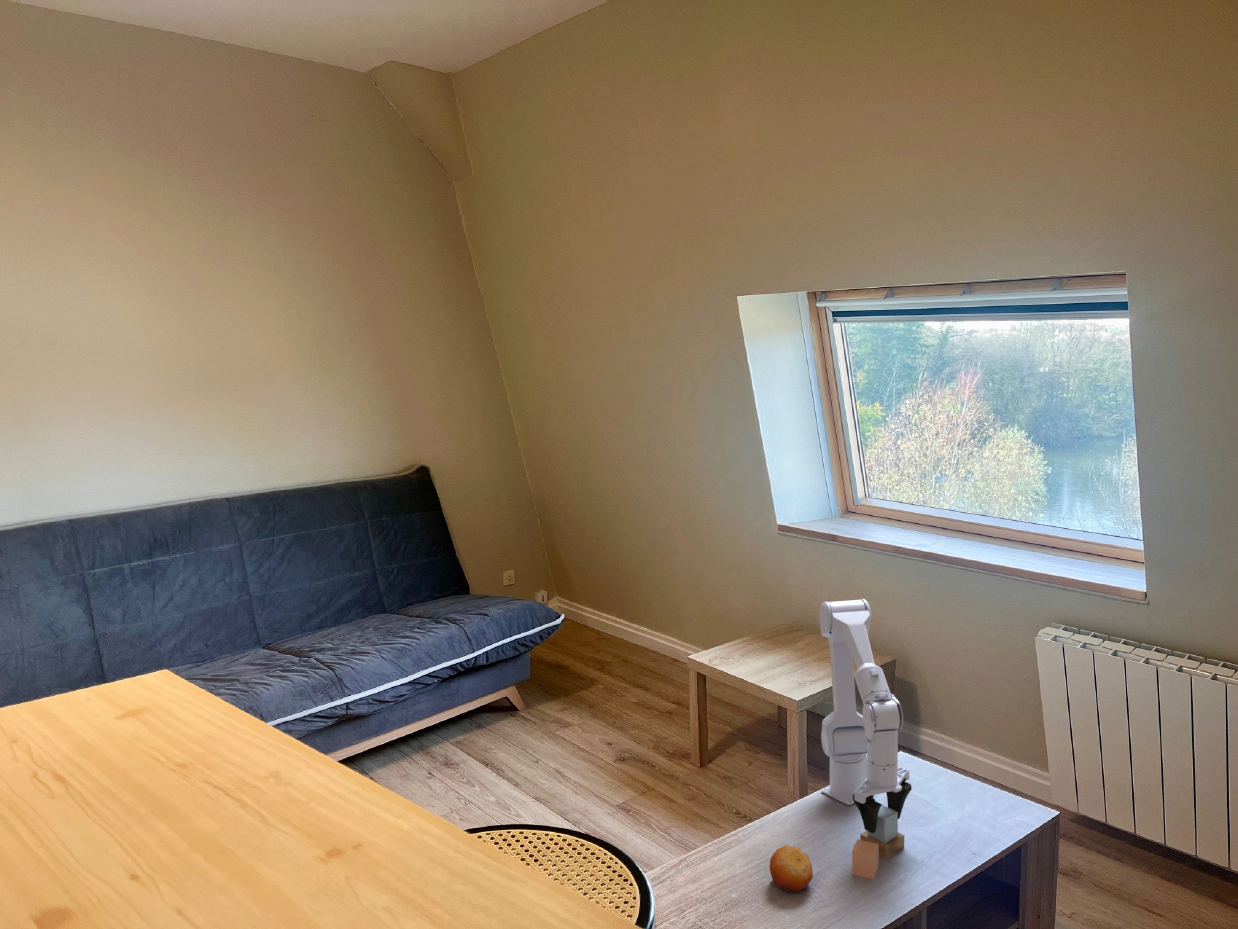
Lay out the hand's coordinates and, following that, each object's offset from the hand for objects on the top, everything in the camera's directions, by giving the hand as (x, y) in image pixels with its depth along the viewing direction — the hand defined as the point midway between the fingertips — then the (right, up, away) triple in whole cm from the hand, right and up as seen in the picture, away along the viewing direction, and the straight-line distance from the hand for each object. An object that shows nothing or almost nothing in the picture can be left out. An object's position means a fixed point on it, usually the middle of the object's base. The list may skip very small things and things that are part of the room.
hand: (882, 824), depth 181 cm
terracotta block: (-5, -6, -7) cm, 11 cm away
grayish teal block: (0, -2, 0) cm, 2 cm away
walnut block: (0, -5, +1) cm, 5 cm away
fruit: (-20, -8, -10) cm, 24 cm away
